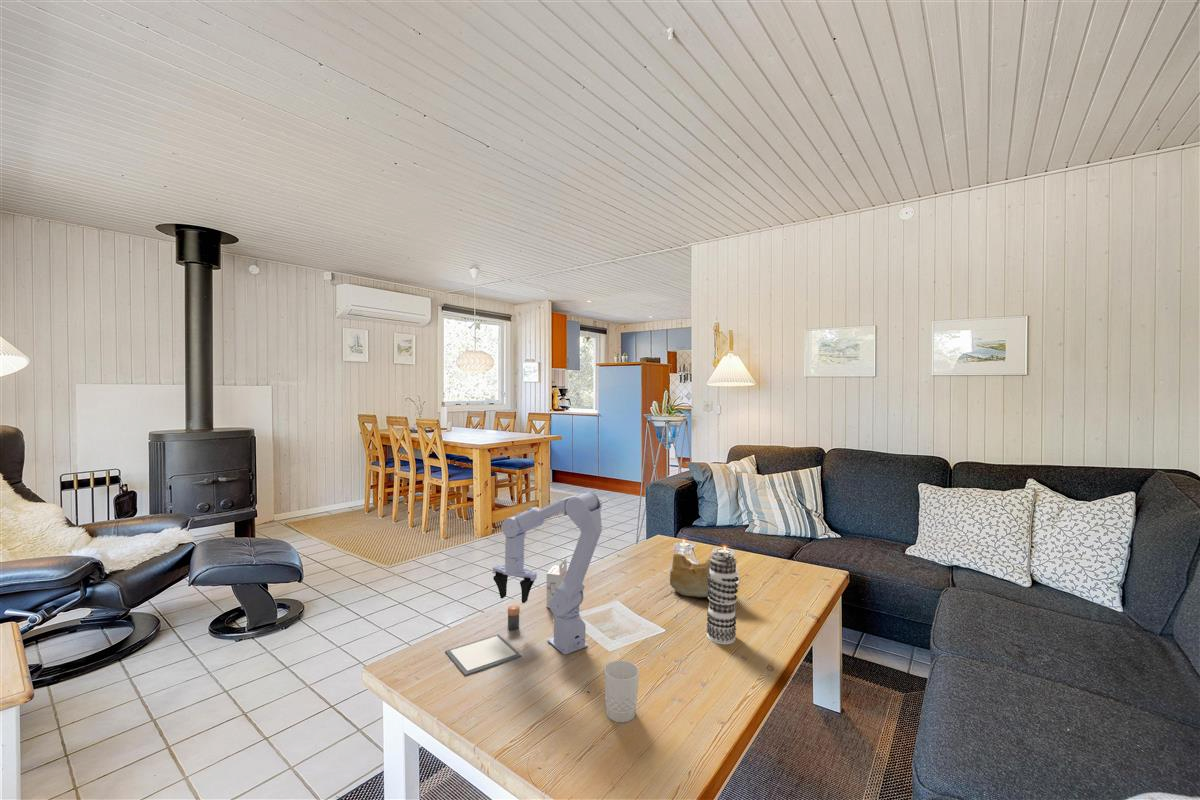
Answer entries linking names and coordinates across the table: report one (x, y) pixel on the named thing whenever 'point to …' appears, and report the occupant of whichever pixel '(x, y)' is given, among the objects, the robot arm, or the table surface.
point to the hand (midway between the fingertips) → (513, 599)
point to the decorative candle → (722, 598)
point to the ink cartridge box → (555, 579)
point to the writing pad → (482, 654)
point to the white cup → (621, 690)
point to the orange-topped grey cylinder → (513, 617)
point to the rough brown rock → (689, 577)
